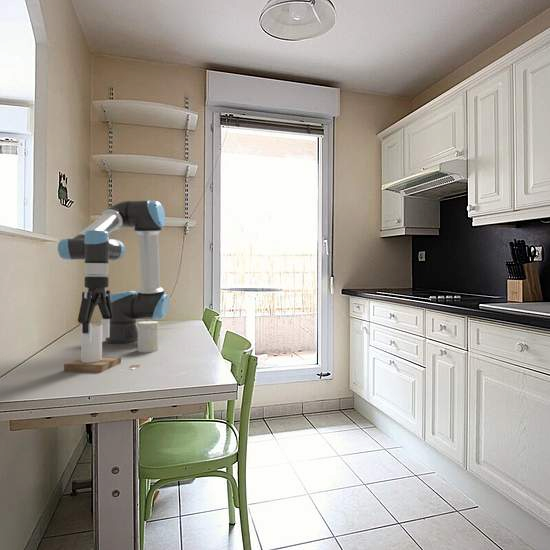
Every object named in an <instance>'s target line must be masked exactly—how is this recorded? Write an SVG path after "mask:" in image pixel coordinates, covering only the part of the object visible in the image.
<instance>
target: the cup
mask: <svg viewBox="0 0 550 550" xmlns="http://www.w3.org/2000/svg"><path fill="white" fill-rule="evenodd" d="M159 326H160V325H159V321H156V320H155V321H154V320H146V321H145V320H143V321H138V322H137V329H138V341H137V352H138V353H154V352H158V351H159V333H160V332H159V329H160V328H159Z"/></svg>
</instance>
